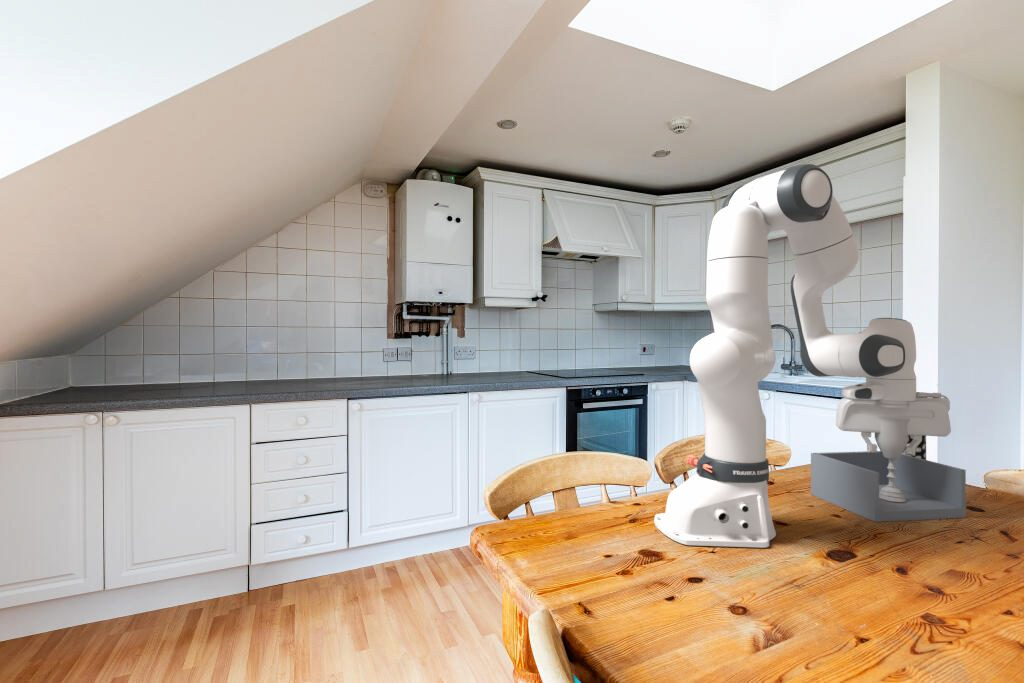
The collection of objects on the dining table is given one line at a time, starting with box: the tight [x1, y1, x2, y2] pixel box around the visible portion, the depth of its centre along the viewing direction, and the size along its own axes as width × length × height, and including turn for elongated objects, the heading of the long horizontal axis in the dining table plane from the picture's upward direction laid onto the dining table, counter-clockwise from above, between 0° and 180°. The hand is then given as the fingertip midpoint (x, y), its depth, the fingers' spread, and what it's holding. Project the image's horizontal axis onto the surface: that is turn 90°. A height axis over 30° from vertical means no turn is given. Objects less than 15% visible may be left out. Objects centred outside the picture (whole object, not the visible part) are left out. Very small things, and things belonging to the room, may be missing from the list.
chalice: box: [874, 418, 910, 502], centre depth 107 cm, size 7×7×18 cm
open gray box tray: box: [810, 450, 967, 523], centre depth 109 cm, size 21×18×10 cm
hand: (890, 453), depth 107 cm, fingers closed on chalice, 5 cm apart
